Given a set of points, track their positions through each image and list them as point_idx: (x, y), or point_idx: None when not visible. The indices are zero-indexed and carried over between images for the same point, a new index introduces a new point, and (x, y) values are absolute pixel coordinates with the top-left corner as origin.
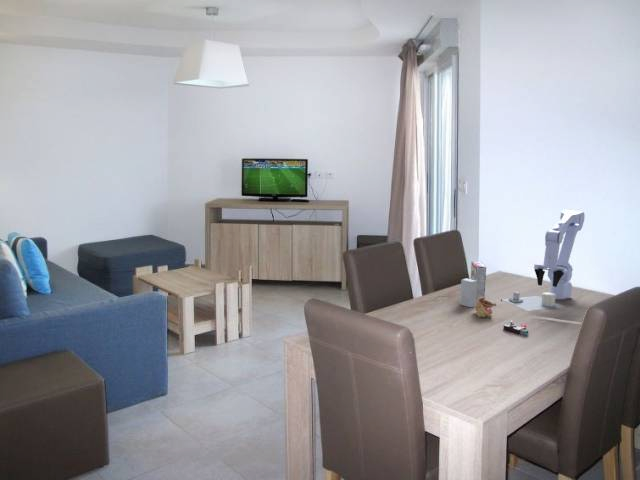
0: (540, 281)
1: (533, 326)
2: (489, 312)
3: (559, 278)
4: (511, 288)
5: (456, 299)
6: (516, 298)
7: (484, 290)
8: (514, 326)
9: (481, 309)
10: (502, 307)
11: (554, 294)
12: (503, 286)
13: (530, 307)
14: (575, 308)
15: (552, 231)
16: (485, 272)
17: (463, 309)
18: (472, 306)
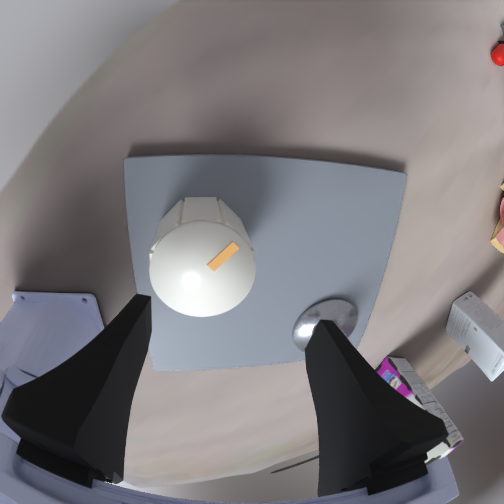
0: (353, 349)
1: (467, 44)
2: None
3: (86, 359)
4: (188, 440)
5: (430, 360)
6: (340, 326)
7: (406, 380)
8: None
9: None
10: (412, 274)
11: (164, 250)
12: (202, 450)
13: (351, 215)
14: (58, 157)
15: None
16: None
17: (486, 278)
18: (466, 294)
